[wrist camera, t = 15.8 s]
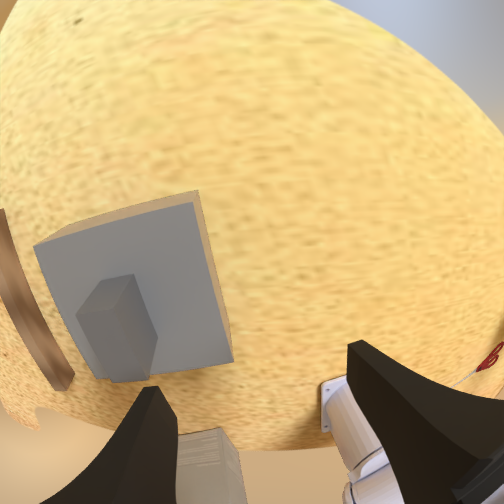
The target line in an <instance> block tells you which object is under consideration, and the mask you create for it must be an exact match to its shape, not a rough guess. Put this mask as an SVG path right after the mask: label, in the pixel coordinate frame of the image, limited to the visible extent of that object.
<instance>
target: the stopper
mask: <svg viewBox="0 0 504 504" xmlns="http://www.w3.org/2000/svg"><path fill="white" fill-rule="evenodd" d="M0 296H1V298H2V300H3V303H4V305H5V307H6V309H7V311H8V313H9V315H10V317H11V319H12V321H13V323H14V325H15V327H16V329H17V331H18V333H19V335H20V336H21V338H22V340H23V342H24V344H25V345H26V347H27V349H28V350H29V352H30V354H31V355H32V357H33V359H34V360H35V362H36V363H37V365H38V367H39V368H40V370H41V371H42V373H43V374H44V376H45V377H46V379H47V380H48V381H49V383H50V384H51V386H52V387H53V388H54V390H55V391H67V389H68V387H69V385H70V383H71V381H72V379H73V377H74V374H75V373H74V371H73V370H72V368H71V366H70V365H69V363H68V362H67V360H66V358H65V357H64V355H63V353H62V352H61V350H60V348H59V346H58V345H57V343H56V341H55V339H54V337H53V336H52V334H51V332H50V330H49V328H48V326H47V324H46V322H45V320H44V318H43V316H42V314H41V312H40V310H39V308H38V306H37V303H36V301H35V299H34V297H33V294H32V292H31V290H30V287H29V285H28V283H27V280H26V278H25V275H24V272H23V270H22V267H21V264H20V262H19V259H18V256H17V253H16V250H15V247H14V244H13V241H12V237H11V234H10V231H9V227H8V224H7V220H6V216H5V212H4V208H3V209H0Z"/></svg>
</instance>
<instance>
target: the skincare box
mask: <svg viewBox="0 0 504 504" xmlns="http://www.w3.org/2000/svg"><path fill="white" fill-rule="evenodd" d="M176 502H177V504H248V503H247V498H246V493H245V488H244V482H243V476H242V471H241V465H240V460H239V453H238V451H237V449H236V448H235V447H234V445H233V444H232V443H231V441H230V440H229V438H228V437H227V435H226V434H225V433H224V431H223V430H222V428H215V429H211V430H206V431H201V432H196V433H191V434H185V435H179V436H178V453H177V469H176Z"/></svg>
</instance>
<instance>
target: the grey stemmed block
mask: <svg viewBox="0 0 504 504" xmlns="http://www.w3.org/2000/svg"><path fill="white" fill-rule="evenodd" d="M33 248H34V251H35V254H36V257H37V260H38V262H39V265H40V268H41V270H42V273H43V276H44V278H45V281H46V283H47V286H48V288H49V290H50V293H51V295H52V297H53V300H54V302H55V304H56V306H57V308H58V311H59V313H60V315H61V317H62V319H63V321H64V323H65V325H66V327H67V329H68V331H69V333H70V335H71V337H72V338H73V340H74V342H75V344H76V346H77V348H78V349H79V351H80V353H81V355H82V356H83V358H84V360H85V361H86V363H87V365H88V366H89V368H90V370H91V371H92V373H93V374H94V376H95V378H96V379H108V378H110V380H111V381H112V383H120V382H134V381H145V380H149V375H154V374H162V373H170V372H178V371H185V370H192V369H198V368H204V367H210V366H216V365H222V364H227V363H232V362H234V358H233V350H232V342H231V334H230V326H229V319H228V315H227V312H226V308H225V304H224V300H223V296H222V292H221V288H220V284H219V280H218V276H217V272H216V267H215V263H214V259H213V255H212V251H211V246H210V242H209V238H208V233H207V229H206V224H205V220H204V215H203V211H202V206H201V202H200V197H199V192H198V190H194V191H190V192H186V193H181V194H177V195H173V196H169V197H165V198H161V199H157V200H153V201H149V202H145V203H141V204H137V205H134V206H130V207H126V208H123V209H119V210H116V211H112V212H109V213H105V214H102V215H98V216H95V217H92V218H89V219H85V220H82V221H79V222H76V223H73V224H70V225H67V226H66V227H64V228H62V229H60V230H59V231H57V232H55V233H54V234H52V235H50V236H49V237H47V238H45V239H44V240H42V241H40V242H39V243H37V244H36V245H34V246H33Z"/></svg>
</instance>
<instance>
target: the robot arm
mask: <svg viewBox="0 0 504 504" xmlns="http://www.w3.org/2000/svg"><path fill="white" fill-rule="evenodd" d="M321 431H322V432H323V433H326V432H329V431H331V433H332V436H333V438H334V440H335V443H336V445H337V447H338V450H339V452H340V454H341V457H342V459H343V461H344V464H345V465H346V467H347V469H348V470H349V471H350V472H349V473H348V474H347V475H348V477H349V479H350V482H348V483H347V484H346V485H345V487H344V491H343V496H342V498H343V504H504V400H498V399H492V398H485V397H480V396H476V395H472V394H468V393H464V392H461V391H458V390H454V389H451V388H449V387H446V386H444V385H441V384H439V383H436V382H434V381H432V380H429V379H427V378H425V377H423V376H421V375H419V374H417V373H415V372H414V371H412V370H410V369H408V368H407V367H405V366H403V365H401V364H400V363H398V362H396V361H395V360H393V359H392V358H390V357H388V356H387V355H385V354H384V353H382V352H381V351H379V350H378V349H376V348H375V347H373V346H371V345H370V344H368V343H367V342H365V341H364V340H359V341H356V342H353V343H350V344H348V351H347V375H345V376H342V377H339V378H336V379H333V380H329V381H326V382H324V383H323V384H322V385H321ZM177 453H178V425H177V417H176V415H175V413H174V412H173V410H172V409H171V407H170V405H169V404H168V402H167V400H166V399H165V397H164V395H163V394H162V392H161V390H160V388H159V387H158V386H151V387H144V388H143V389H142V391H141V392H140V394H139V395H138V397H137V398H136V400H135V402H134V403H133V405H132V406H131V408H130V410H129V411H128V413H127V414H126V416H125V418H124V419H123V421H122V422H121V424H120V425H119V427H118V428H117V430H116V431H115V433H114V434H113V436H112V437H111V438H110V440H109V441H108V442H107V444H106V445H105V447H104V448H103V449H102V451H101V452H100V453H99V454H98V456H97V457H96V458H95V459H94V460H93V461H92V462H91V463H90V464H89V465H88V467H87V468H86V469H85V470H84V471H82V472H81V473H80V474H79V475H78V476H77V477H76V478H75V479H74V480H73V481H72V482H71V483H69V484H68V485H67V486H65V487H64V488H63V489H62V490H60V491H59V492H57V493H56V494H55V495H53V496H52V497H50V498H48V499H47V500H45V501H43V502H42V503H40V504H177V502H176V469H177Z"/></svg>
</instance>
